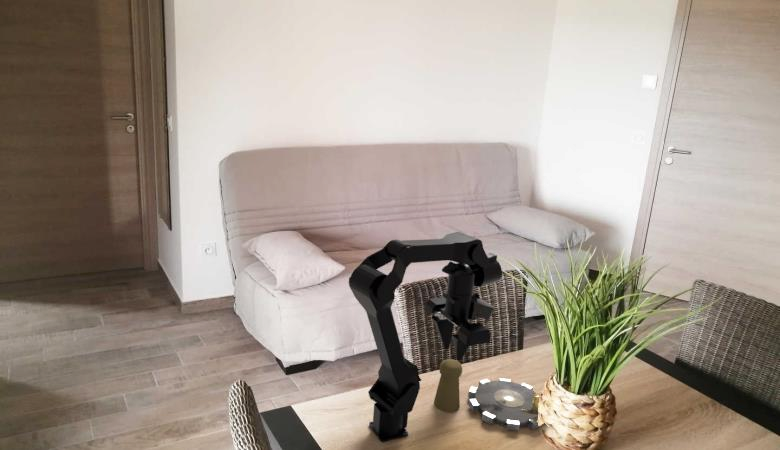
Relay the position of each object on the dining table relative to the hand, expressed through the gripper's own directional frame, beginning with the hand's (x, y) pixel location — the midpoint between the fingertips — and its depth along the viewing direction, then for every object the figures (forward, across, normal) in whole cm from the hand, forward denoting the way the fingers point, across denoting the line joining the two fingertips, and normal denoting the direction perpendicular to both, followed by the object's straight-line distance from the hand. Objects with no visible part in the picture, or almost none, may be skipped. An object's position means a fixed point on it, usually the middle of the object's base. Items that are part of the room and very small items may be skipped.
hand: (452, 354), depth 131 cm
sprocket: (+13, -6, -13) cm, 19 cm away
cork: (+13, 0, 0) cm, 13 cm away
